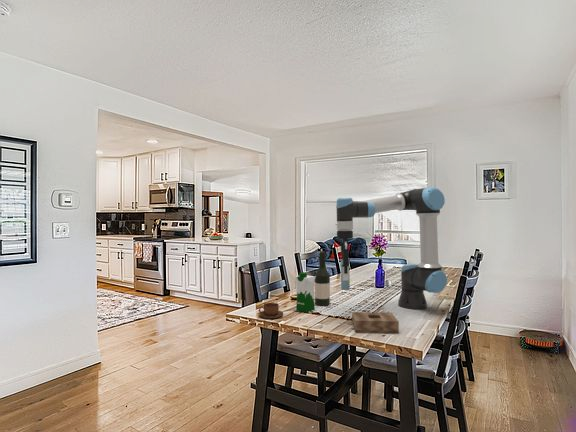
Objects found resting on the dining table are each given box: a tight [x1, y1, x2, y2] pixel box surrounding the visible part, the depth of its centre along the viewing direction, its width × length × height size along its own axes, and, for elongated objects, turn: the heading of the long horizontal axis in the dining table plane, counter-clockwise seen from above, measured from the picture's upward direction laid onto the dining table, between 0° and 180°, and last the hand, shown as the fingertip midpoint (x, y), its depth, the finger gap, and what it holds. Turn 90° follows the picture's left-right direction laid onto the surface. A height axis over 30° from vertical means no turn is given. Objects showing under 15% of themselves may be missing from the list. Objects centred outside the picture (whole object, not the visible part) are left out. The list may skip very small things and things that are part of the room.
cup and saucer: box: [258, 302, 284, 319], centre depth 182 cm, size 12×12×6 cm
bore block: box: [351, 311, 400, 334], centre depth 163 cm, size 18×14×5 cm
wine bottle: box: [314, 250, 331, 307], centre depth 207 cm, size 8×8×30 cm
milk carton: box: [294, 271, 316, 314], centre depth 194 cm, size 9×9×20 cm
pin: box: [340, 258, 351, 291], centre depth 175 cm, size 4×4×14 cm
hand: (345, 279), depth 175 cm, fingers closed on pin, 4 cm apart
